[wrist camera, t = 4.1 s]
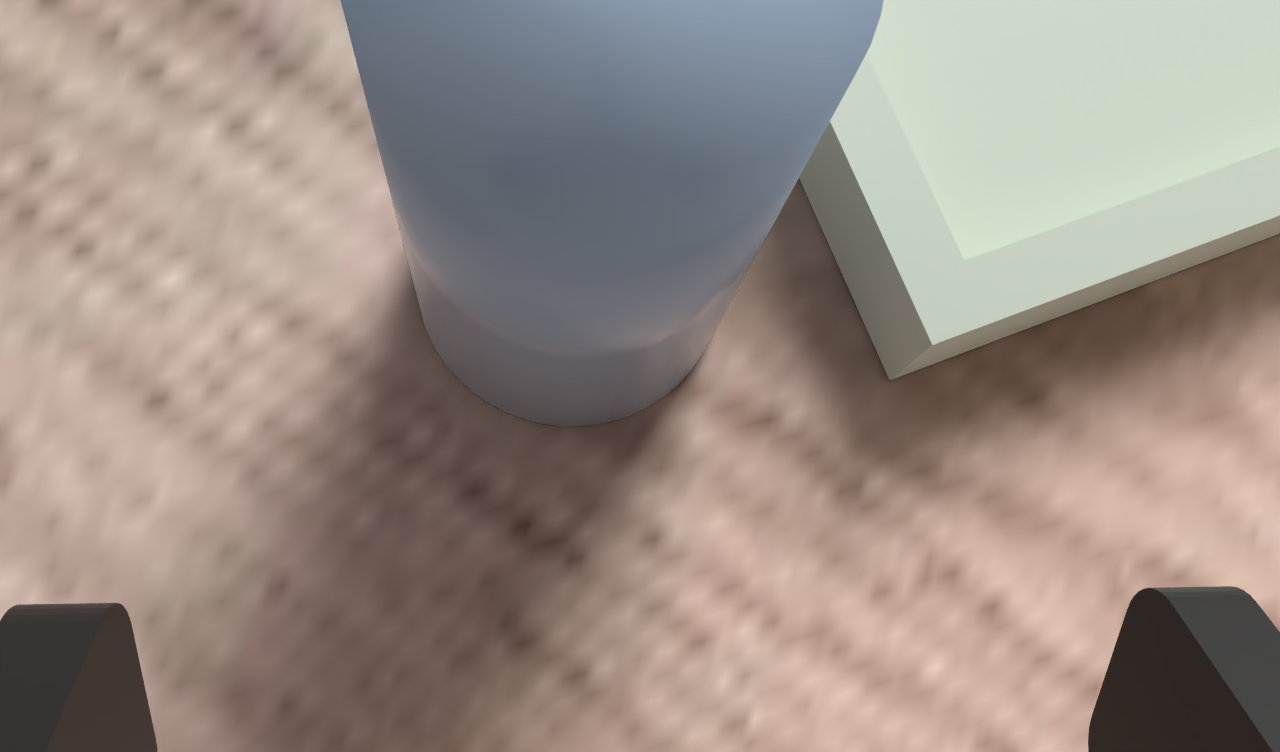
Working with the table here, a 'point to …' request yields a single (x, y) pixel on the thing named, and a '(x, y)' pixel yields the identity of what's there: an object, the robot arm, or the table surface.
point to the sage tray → (1043, 160)
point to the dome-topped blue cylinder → (593, 176)
